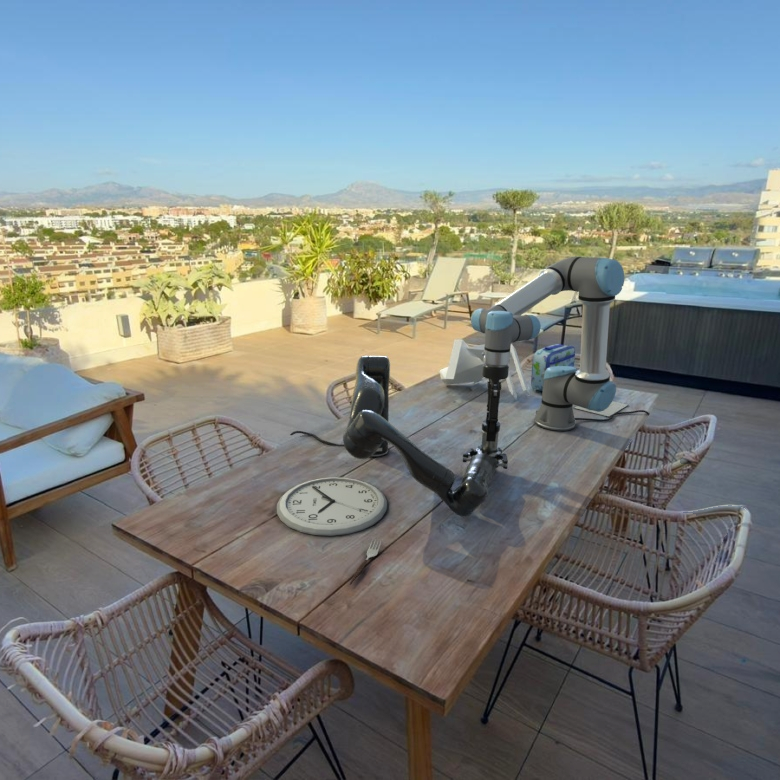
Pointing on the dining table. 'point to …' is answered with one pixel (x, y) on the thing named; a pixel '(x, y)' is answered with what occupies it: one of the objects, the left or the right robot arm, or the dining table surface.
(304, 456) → the dining table surface
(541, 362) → the lunch box
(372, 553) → the fork
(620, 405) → the invitation card
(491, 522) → the dining table surface
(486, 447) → the jar
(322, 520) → the wall clock
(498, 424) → the lid
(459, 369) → the white plastic object
